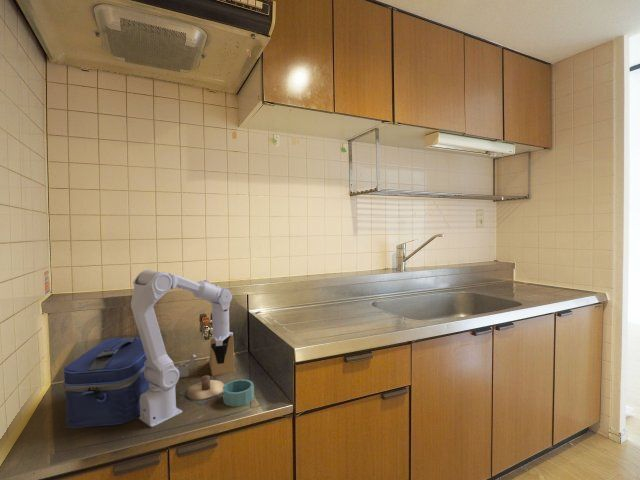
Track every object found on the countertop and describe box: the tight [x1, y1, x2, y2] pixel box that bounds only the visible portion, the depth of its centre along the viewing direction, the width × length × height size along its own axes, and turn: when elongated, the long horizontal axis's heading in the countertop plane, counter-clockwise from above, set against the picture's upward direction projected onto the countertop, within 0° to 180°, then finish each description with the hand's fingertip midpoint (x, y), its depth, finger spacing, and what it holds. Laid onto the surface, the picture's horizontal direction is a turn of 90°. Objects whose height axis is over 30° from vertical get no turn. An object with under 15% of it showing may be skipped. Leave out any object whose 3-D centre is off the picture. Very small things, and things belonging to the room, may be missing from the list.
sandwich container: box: [208, 334, 235, 377], centre depth 136 cm, size 9×15×15 cm, turn 23°
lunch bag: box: [62, 337, 149, 429], centre depth 109 cm, size 31×21×20 cm
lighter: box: [176, 353, 197, 379], centre depth 129 cm, size 7×2×8 cm, turn 114°
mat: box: [178, 378, 226, 406], centre depth 116 cm, size 13×13×1 cm
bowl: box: [222, 378, 255, 407], centre depth 111 cm, size 10×10×4 cm
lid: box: [187, 374, 225, 400], centre depth 116 cm, size 12×12×5 cm
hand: (221, 359), depth 121 cm, fingers open, 7 cm apart
